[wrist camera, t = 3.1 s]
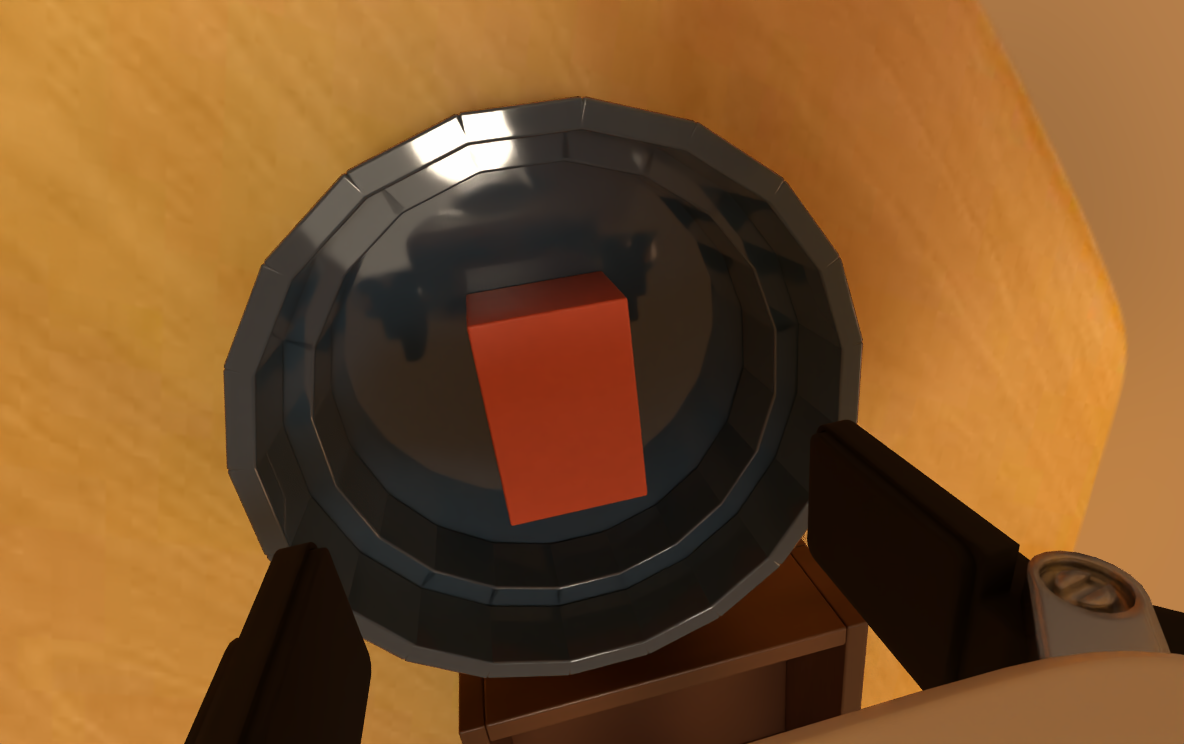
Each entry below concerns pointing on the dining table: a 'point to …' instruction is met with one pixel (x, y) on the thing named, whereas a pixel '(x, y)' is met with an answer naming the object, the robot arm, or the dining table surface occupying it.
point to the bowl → (454, 401)
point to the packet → (559, 394)
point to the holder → (697, 677)
